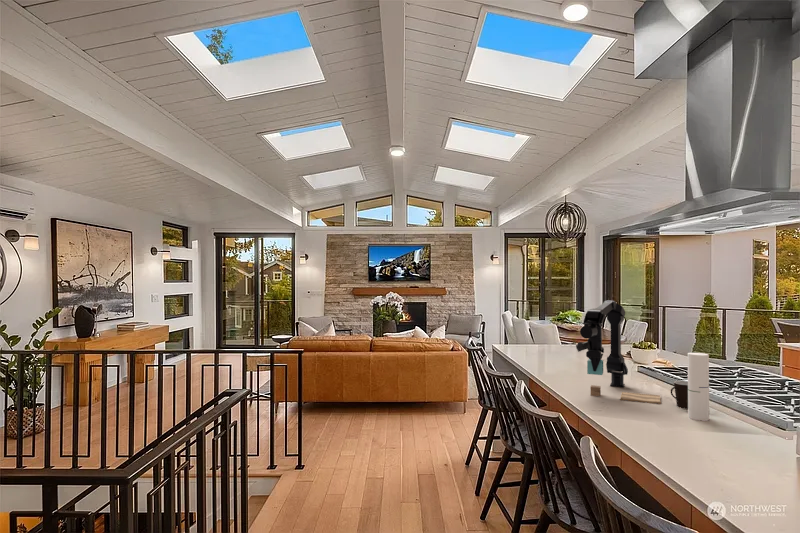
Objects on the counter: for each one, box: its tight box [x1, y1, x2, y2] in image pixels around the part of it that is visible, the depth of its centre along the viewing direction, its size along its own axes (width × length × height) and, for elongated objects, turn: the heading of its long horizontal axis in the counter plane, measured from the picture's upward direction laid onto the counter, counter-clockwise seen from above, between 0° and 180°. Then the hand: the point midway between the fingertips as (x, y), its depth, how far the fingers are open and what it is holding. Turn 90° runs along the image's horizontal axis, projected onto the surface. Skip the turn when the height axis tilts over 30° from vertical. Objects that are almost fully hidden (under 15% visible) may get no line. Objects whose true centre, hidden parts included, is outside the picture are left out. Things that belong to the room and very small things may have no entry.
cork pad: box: [619, 391, 662, 405], centre depth 232 cm, size 14×16×1 cm
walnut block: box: [590, 384, 602, 397], centre depth 240 cm, size 4×4×4 cm
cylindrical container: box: [687, 352, 710, 422], centre depth 201 cm, size 7×7×25 cm
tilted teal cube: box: [586, 358, 604, 376], centre depth 240 cm, size 6×6×6 cm
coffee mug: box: [670, 380, 688, 410], centre depth 218 cm, size 12×9×10 cm
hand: (595, 370), depth 240 cm, fingers closed on tilted teal cube, 6 cm apart
